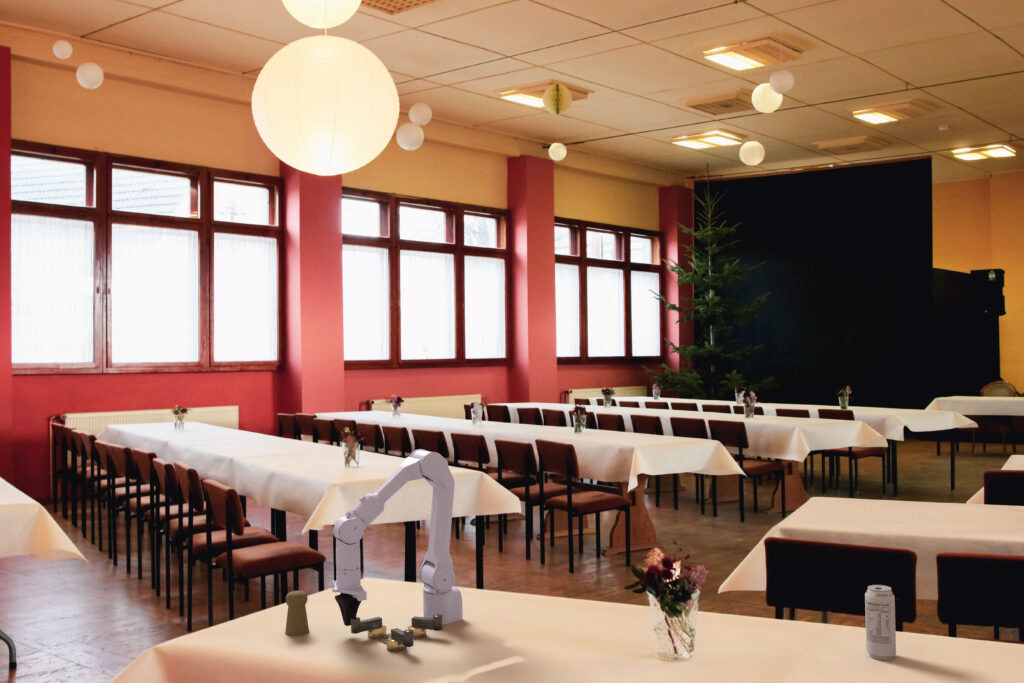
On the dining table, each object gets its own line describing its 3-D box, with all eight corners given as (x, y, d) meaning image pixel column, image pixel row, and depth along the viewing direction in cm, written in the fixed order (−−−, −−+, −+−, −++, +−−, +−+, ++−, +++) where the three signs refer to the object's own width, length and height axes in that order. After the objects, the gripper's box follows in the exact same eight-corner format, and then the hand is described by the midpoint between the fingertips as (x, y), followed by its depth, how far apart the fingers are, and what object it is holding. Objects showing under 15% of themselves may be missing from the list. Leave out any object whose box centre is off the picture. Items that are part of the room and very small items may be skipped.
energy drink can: (901, 656, 197) (899, 587, 197) (888, 663, 193) (886, 592, 193) (874, 649, 202) (872, 582, 202) (861, 656, 198) (859, 587, 198)
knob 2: (383, 647, 207) (382, 625, 207) (400, 643, 209) (399, 621, 209) (402, 657, 200) (402, 634, 200) (419, 653, 202) (419, 630, 202)
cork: (303, 641, 216) (302, 595, 216) (280, 640, 217) (279, 594, 218) (314, 633, 222) (313, 588, 222) (291, 632, 223) (290, 587, 224)
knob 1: (380, 631, 219) (380, 610, 219) (389, 636, 215) (389, 614, 215) (347, 639, 213) (347, 617, 213) (356, 643, 210) (355, 621, 210)
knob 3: (404, 637, 214) (404, 615, 214) (413, 631, 218) (413, 610, 218) (437, 641, 211) (437, 618, 211) (446, 635, 215) (445, 613, 215)
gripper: (319, 565, 220) (320, 621, 219) (346, 576, 208) (347, 635, 208) (346, 560, 224) (347, 615, 224) (374, 571, 212) (375, 629, 212)
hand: (349, 624), depth 216 cm, fingers closed
